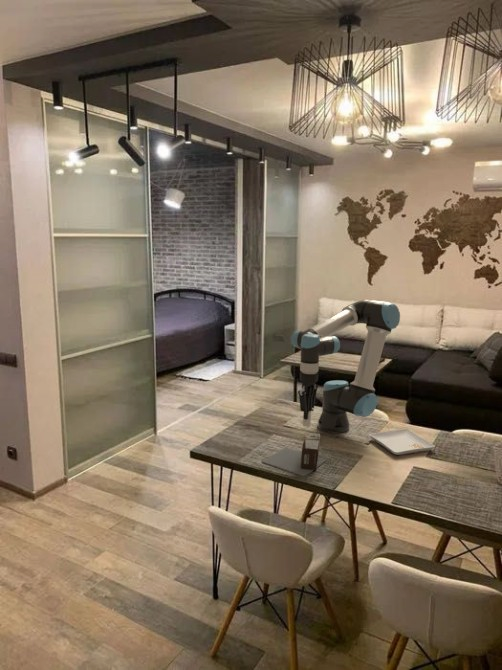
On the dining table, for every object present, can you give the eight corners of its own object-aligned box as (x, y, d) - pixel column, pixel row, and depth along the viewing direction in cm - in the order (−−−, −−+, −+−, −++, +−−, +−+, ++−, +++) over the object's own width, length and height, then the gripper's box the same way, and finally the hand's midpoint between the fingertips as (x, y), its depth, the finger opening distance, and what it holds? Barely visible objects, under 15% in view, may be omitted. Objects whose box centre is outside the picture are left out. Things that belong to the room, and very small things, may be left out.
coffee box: (305, 432, 213) (301, 447, 198) (320, 433, 212) (318, 448, 197) (304, 452, 215) (300, 468, 199) (319, 454, 214) (316, 470, 198)
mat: (285, 448, 220) (285, 447, 220) (326, 460, 208) (326, 459, 208) (262, 462, 205) (262, 461, 205) (304, 476, 194) (304, 475, 194)
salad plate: (394, 459, 212) (395, 451, 211) (367, 440, 232) (367, 433, 231) (436, 453, 219) (436, 445, 218) (406, 435, 239) (406, 428, 238)
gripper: (309, 367, 214) (306, 419, 219) (293, 373, 204) (290, 428, 208) (324, 370, 210) (321, 423, 215) (309, 376, 200) (306, 432, 204)
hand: (306, 425), depth 211 cm, fingers closed
